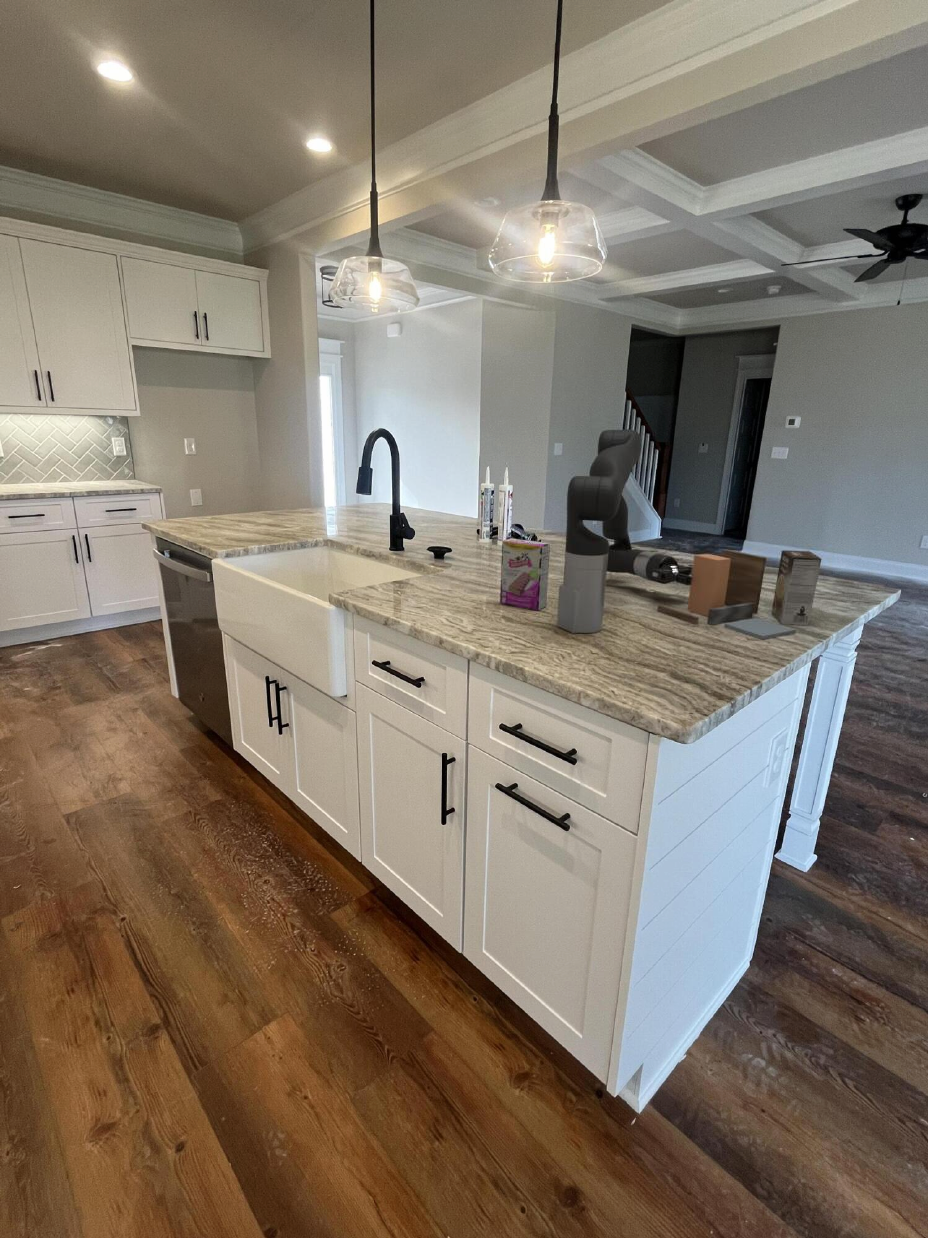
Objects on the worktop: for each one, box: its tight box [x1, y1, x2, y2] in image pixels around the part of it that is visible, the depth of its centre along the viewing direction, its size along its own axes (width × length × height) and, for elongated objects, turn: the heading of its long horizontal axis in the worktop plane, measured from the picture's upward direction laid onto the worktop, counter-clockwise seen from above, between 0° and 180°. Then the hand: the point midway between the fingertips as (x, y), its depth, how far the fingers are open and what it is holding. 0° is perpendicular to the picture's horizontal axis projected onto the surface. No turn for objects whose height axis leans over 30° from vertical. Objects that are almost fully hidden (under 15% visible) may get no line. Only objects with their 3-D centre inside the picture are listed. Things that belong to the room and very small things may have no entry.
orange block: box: [686, 553, 731, 618], centre depth 148 cm, size 4×7×14 cm, turn 27°
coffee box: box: [771, 549, 822, 627], centre depth 143 cm, size 9×6×16 cm
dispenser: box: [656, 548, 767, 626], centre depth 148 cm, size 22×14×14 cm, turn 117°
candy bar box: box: [499, 538, 551, 611], centre depth 151 cm, size 11×5×16 cm, turn 58°
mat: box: [723, 617, 797, 640], centre depth 137 cm, size 11×10×1 cm
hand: (703, 579), depth 150 cm, fingers open, 8 cm apart
